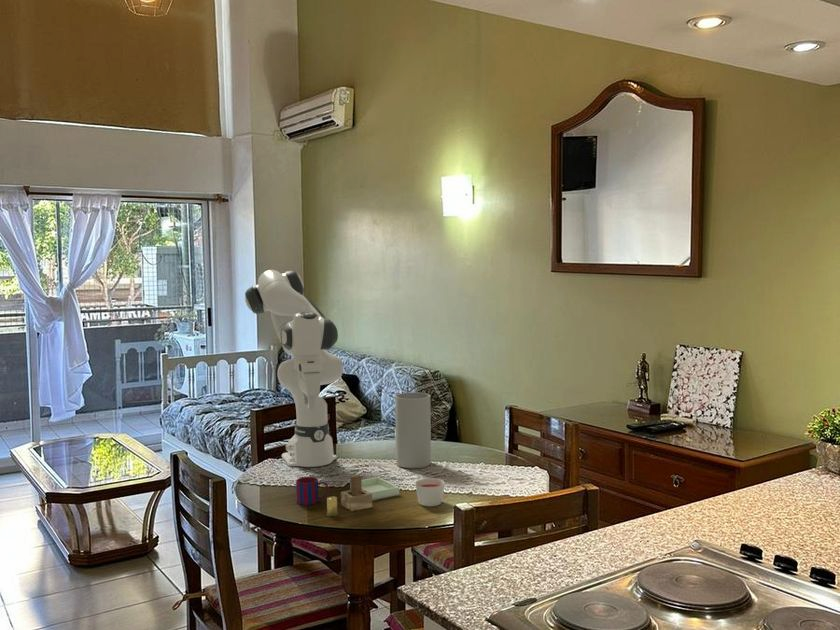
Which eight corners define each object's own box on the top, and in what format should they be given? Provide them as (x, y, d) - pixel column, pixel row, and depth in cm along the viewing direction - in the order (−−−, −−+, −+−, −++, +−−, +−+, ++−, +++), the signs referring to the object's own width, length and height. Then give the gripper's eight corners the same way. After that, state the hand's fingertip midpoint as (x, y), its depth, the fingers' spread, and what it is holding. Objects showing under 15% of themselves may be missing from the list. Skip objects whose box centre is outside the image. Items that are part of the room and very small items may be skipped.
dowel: (349, 505, 233) (348, 476, 232) (358, 503, 235) (358, 474, 234) (354, 508, 230) (353, 479, 229) (363, 506, 232) (363, 477, 231)
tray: (350, 489, 248) (350, 482, 248) (378, 484, 254) (378, 476, 253) (370, 500, 237) (369, 493, 237) (399, 494, 242) (399, 487, 242)
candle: (422, 509, 229) (422, 488, 228) (410, 500, 237) (410, 480, 236) (449, 505, 232) (449, 484, 232) (437, 496, 240) (437, 476, 240)
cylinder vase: (420, 471, 268) (419, 400, 266) (389, 466, 275) (388, 397, 273) (437, 462, 279) (436, 394, 277) (407, 457, 285) (406, 391, 283)
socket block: (340, 504, 234) (340, 492, 233) (361, 500, 237) (361, 488, 237) (351, 511, 228) (351, 498, 227) (372, 507, 231) (372, 494, 231)
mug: (301, 497, 241) (301, 476, 241) (331, 499, 239) (331, 478, 238) (293, 504, 235) (292, 482, 234) (323, 506, 232) (323, 484, 232)
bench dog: (325, 514, 225) (325, 497, 225) (334, 512, 227) (334, 495, 226) (329, 517, 223) (329, 500, 222) (339, 515, 224) (338, 498, 224)
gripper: (293, 360, 253) (294, 401, 254) (302, 368, 233) (303, 413, 234) (312, 359, 255) (313, 400, 256) (323, 366, 235) (324, 411, 236)
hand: (309, 406), depth 245 cm, fingers open, 8 cm apart
